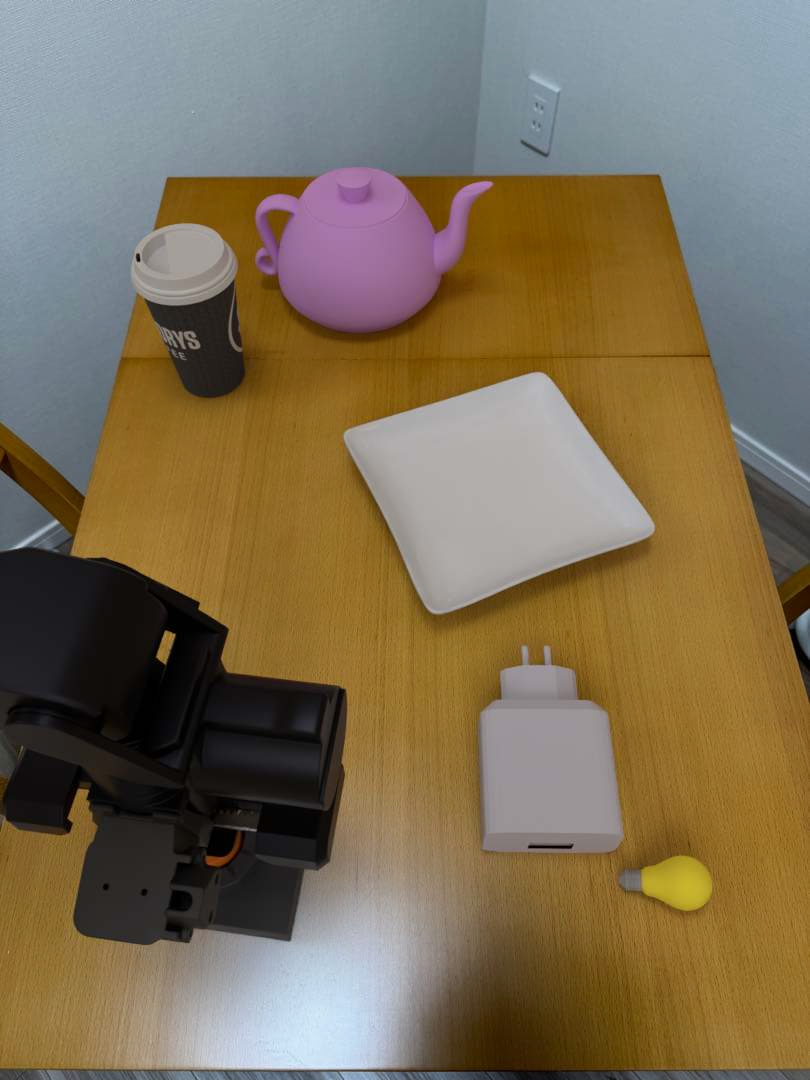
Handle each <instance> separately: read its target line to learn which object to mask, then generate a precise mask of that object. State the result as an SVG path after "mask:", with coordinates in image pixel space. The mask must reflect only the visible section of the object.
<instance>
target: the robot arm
mask: <svg viewBox="0 0 810 1080" xmlns="http://www.w3.org/2000/svg"><path fill="white" fill-rule="evenodd" d="M200 605H201V602H200V601H198V600H196V599H194V598H192V597H190V596H188V595H186V594H184V593H183V592H180V591H177V590H176V589H174V588H172V587H170V586H168V585H166V584H164V583H162V582H160V581H158V580H156V579H154V578H151V577H149V576H148V575H146V574H144V573H142V572H140V571H138V570H137V569H135V568H133V567H131V566H129V565H127V564H125V563H122V562H119V561H116V560H113V559H110V558H108V557H104V556H101V557H81V556H76V555H72V554H67V553H63V552H59V551H55V550H50V549H45V548H41V547H36V546H23V547H18V548H12V549H7V550H2V551H0V730H1V731H2V733H3V734H4V736H5V737H6V739H9V740H10V741H12V742H13V743H14V744H17V745H19V746H21V747H22V748H21V751H20V753H19V756H18V757H17V761H16V763H15V765H14V768H13V770H12V772H11V775H10V777H9V780H8V783H7V785H6V787H5V790H4V792H3V794H2V813H3V816H4V817H5V820H6V822H8V823H9V824H10V825H11V826H13V827H14V828H16V829H17V830H18V831H22V832H23V831H24V832H32V833H38V834H45V835H51V836H65V835H69V834H71V831H72V828H73V826H74V822H72V820H70V818H69V816H70V813H71V810H72V808H73V805H74V802H75V800H76V797H77V794H78V791H79V790H86V791H88V792H87V795H86V798H85V800H86V801H87V803H89V804H88V807H87V809H88V811H89V812H90V813H91V821H92V822H93V823H94V824H95V825H96V826H97V827H96V830H95V833H94V836H93V839H92V841H91V842H90V843H89V845H88V846H87V849H86V851H85V855H84V858H83V863H82V864H83V865H82V869H81V873H80V878H79V884H78V888H77V894H76V898H75V904H74V909H73V913H72V920H73V925H74V927H75V929H76V931H77V932H78V933H79V934H80V935H82V936H84V937H86V938H92V939H97V940H106V941H113V942H121V943H125V944H126V943H127V944H134V945H139V946H150V945H153V944H155V943H157V942H159V941H168V942H175V943H183V944H190V943H191V941H192V938H193V936H194V930H195V929H196V930H200V931H201V930H202V931H204V930H207V929H206V928H208V927H209V926H210V925H212V923H213V921H214V918H215V914H216V909H217V902H218V896H219V890H220V884H221V878H222V872H221V868H220V867H218V866H211V865H208V864H207V862H206V856H212V857H225V856H227V855H229V854H230V853H231V851H232V850H233V848H234V846H235V844H236V841H237V837H238V833H239V830H244V831H251V832H256V843H255V855H256V857H257V858H258V859H259V860H262V861H265V862H267V863H270V864H273V865H280V866H287V867H295V868H302V869H304V870H310V871H317V872H319V871H320V870H321V869H322V868H324V867H325V866H326V865H328V864H329V863H330V862H331V857H332V852H333V846H334V840H335V835H336V834H335V833H336V830H337V829H336V828H337V824H338V823H337V822H338V819H339V813H340V806H341V801H342V796H343V791H344V783H345V778H346V772H345V767H344V764H343V757H344V750H345V741H346V734H347V721H348V720H347V719H348V694H347V688H344V687H342V686H340V685H336V684H325V683H317V682H312V681H311V682H310V681H303V680H302V681H301V680H293V679H287V678H286V679H285V678H278V677H269V676H261V675H253V674H245V673H236V672H229V671H227V669H226V667H225V665H224V662H223V660H222V656H223V653H224V649H225V646H226V643H227V638H228V635H229V633H230V628H229V627H228V626H226V625H225V624H223V623H221V622H220V621H219V620H217V619H215V618H213V617H212V616H210V615H209V614H207V613H206V612H204V611H202V610H201V609H199V608H200ZM166 632H168V633H172V634H174V638H173V641H172V642H171V643H172V644H171V647H170V650H169V653H168V655H167V659H166V662H163V661H162V660H160V659H159V658H158V657H157V656H158V653H159V650H160V647H161V644H162V642H163V640H164V639H163V638H164V635H165V633H166ZM244 810H245V811H248V812H247V813H246V815H245V816H244ZM250 811H252V812H254V814H253V816H252V817H251V813H250ZM257 812H260V816H259V818H258V816H257Z"/></svg>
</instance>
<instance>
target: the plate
mask: <svg viewBox="0 0 810 1080" xmlns="http://www.w3.org/2000/svg"><path fill="white" fill-rule="evenodd" d="M342 439H343V442H344V444H345V446H346V448H347V450H348V453H349V454H350V457H351V458H352V460H353V462H354V463H355V465H356V467H357V469H358V470H359V472H360V474H361V476H362V478H363V479H364V482H365V483H366V485H367V486H368V488H369V490H370V492H371V494H372V496H373V498H374V500H375V502H376V503H377V506H378V507H379V510H380V512H381V513H382V516H383V518H384V520H385V522H386V524H387V526H388V528H389V530H390V532H391V535H392V537H393V540H394V541H395V544H396V546H397V547H398V550H399V553H400V555H401V558H402V560H403V563H404V564H405V565H404V566H405V568H406V570H407V572H408V575H409V577H410V579H411V582H412V584H413V586H414V589H415V591H416V593H417V595H418V596H419V599H420V600H421V602H422V604H423V605H424V607H425V609H426V610H427V611H428V612H429V613H430V614H433V615H437V616H438V615H445V614H448V613H452V612H454V611H458V610H460V609H463V608H466V607H467V606H471V605H473V604H476V603H477V602H480V601H482V600H484V599H486V598H489V597H491V596H493V595H496V594H498V593H500V592H503V591H505V590H507V589H510V588H512V587H514V586H517V585H519V584H522V583H523V582H527V581H529V580H531V579H535V578H536V577H539V576H542V575H544V574H546V573H549V572H552V571H554V570H558V569H560V568H564V567H566V566H569V565H572V564H575V563H578V562H580V561H584V560H587V559H589V558H593V557H595V556H599V555H602V554H606V553H608V552H609V553H610V552H612V551H615V550H618V549H622V548H625V547H628V546H631V545H633V544H636V543H638V542H641V541H644V540H646V539H649V538H650V537H652V536H653V535H654V533H655V532H656V525H655V522H654V520H653V519H652V517H651V516H650V514H649V513H648V511H647V509H646V507H644V505H643V504H642V503H641V501H640V500H639V498H638V497H637V496H636V495H635V493H634V492H633V490H632V489H631V488H630V486H629V485H628V484H627V482H626V481H625V480H624V479H623V477H622V476H621V474H620V473H619V472H618V470H617V469H616V468H615V466H614V465H613V463H612V462H611V461H610V460H609V458H608V457H607V455H606V454H605V453H604V451H603V450H602V449H601V447H600V446H599V444H598V443H597V442H596V440H595V439H594V437H593V436H592V434H591V433H590V432H589V430H588V429H587V428H586V427H585V425H584V423H583V421H581V419H580V417H579V416H578V415H577V413H576V412H575V411H574V409H573V407H572V406H571V404H570V403H569V402H568V400H567V399H566V397H565V396H564V394H563V393H562V391H561V390H560V389H559V387H558V386H557V385H556V383H555V382H554V381H553V380H552V378H551V377H549V376H548V375H547V374H546V373H544V372H542V371H534V372H530V373H526V374H523V375H519V376H516V377H513V378H509V379H506V380H503V381H500V382H497V383H493V384H491V385H488V386H484V387H482V388H477V389H475V390H472V391H469V392H465V393H462V394H459V395H455V396H452V397H449V398H445V399H442V400H439V401H436V402H433V403H429V404H426V405H423V406H419V407H416V408H413V409H409V410H406V411H403V412H400V413H396V414H392V415H389V416H386V417H383V418H379V419H377V420H372V421H370V422H366V423H363V424H359V425H357V426H354V427H351V428H347V430H345V431H344V432H343V435H342Z"/></svg>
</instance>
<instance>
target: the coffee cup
mask: <svg viewBox="0 0 810 1080" xmlns="http://www.w3.org/2000/svg"><path fill="white" fill-rule="evenodd" d="M238 262H239V261H238V257H237V256H236V254H235V252H234V250H233V249H232V247H231V246H230V245H229V244H228V242H227V241H225V240H224V239H223V238H222V236H221V235H220V234H219V233H218V232H217V231H215V229H213V228H211V227H208V226H206V225H203V224H198V223H189V222H188V223H186V222H185V223H174V224H169V225H167V226H162V227H160V228H158V229H155V230H154V231H152V232H150V233H148V234H147V235H145V236H144V237H143V238H142V239H141V240H139V242H138V244H137V245H136V247H135V249H134V252H133V259H132V261H131V266H130V283H131V285H132V287H133V289H134V291H135V292H136V293H137V294H138V295H139V296H141V297H142V298H143V299H144V301H145V304H146V306H147V309H148V310H149V313H150V315H151V317H152V319H153V321H154V323H155V326H156V329H157V330H158V333H159V335H160V336H161V339H162V341H163V344H164V346H165V348H166V351H167V353H168V355H169V357H170V359H171V362H172V364H173V366H174V369H175V370H176V373H177V375H178V377H179V380H180V382H181V385H182V387H184V389H185V390H186V391H187V392H188V393H190V394H191V395H194V396H196V397H200V398H209V399H211V398H219V397H222V396H225V395H227V394H230V393H232V392H234V391H235V390H236V389H238V387H240V385H241V384H242V383H243V381H244V379H245V375H246V368H245V359H244V350H243V341H242V333H241V325H240V316H239V307H238V300H237V289H236V281H235V278H236V275H237V273H238V270H239V263H238Z"/></svg>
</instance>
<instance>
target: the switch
mask: <svg viewBox="0 0 810 1080" xmlns="http://www.w3.org/2000/svg"><path fill="white" fill-rule="evenodd" d="M242 846H243V831H242V830H239V833H238V837H237V841H236V844H235V846H234V848H233V850H232V851H231V853H230V854H229V855H227V856H225V857H212V856H206V862H207V864H208V865H211V866H218V867H220V868H221V869H222V868H224V867H227V866H229V865H230V863H231V862H232V861H233V860H234V859H235V857H236V856H237V855H238V854H239V853H240V852H241V849H242Z"/></svg>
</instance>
